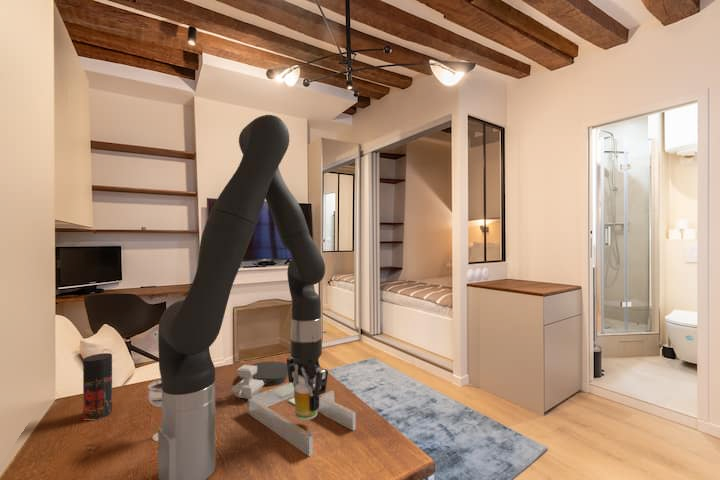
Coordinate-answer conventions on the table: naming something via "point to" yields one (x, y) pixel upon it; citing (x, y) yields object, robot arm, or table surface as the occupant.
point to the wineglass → (155, 397)
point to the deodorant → (97, 386)
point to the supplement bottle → (303, 400)
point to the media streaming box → (270, 372)
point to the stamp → (247, 382)
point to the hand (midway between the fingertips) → (306, 405)
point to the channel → (286, 428)
